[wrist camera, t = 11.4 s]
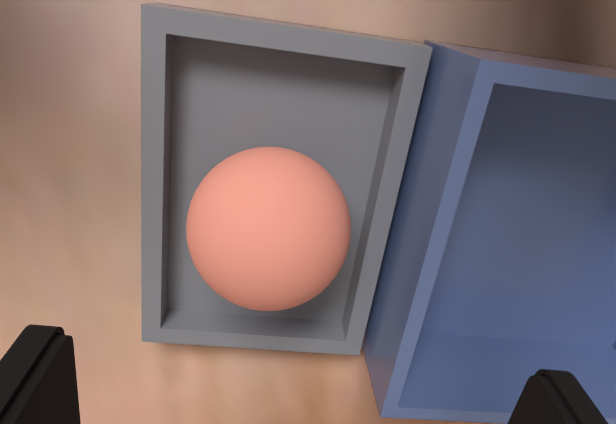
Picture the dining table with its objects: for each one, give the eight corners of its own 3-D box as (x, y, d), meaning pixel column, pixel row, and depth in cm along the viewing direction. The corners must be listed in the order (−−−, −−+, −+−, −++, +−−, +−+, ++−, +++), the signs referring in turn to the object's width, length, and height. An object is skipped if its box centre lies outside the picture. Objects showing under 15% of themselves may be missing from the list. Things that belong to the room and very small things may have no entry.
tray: (417, 41, 19) (432, 47, 17) (353, 328, 24) (359, 355, 23) (154, 2, 18) (141, 4, 16) (151, 313, 23) (141, 341, 21)
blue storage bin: (744, 88, 20) (895, 120, 15) (610, 348, 26) (689, 432, 21) (425, 40, 19) (480, 59, 14) (358, 330, 25) (380, 417, 20)
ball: (353, 136, 19) (379, 197, 14) (329, 261, 22) (344, 353, 17) (204, 117, 19) (171, 173, 13) (197, 248, 21) (168, 340, 16)
